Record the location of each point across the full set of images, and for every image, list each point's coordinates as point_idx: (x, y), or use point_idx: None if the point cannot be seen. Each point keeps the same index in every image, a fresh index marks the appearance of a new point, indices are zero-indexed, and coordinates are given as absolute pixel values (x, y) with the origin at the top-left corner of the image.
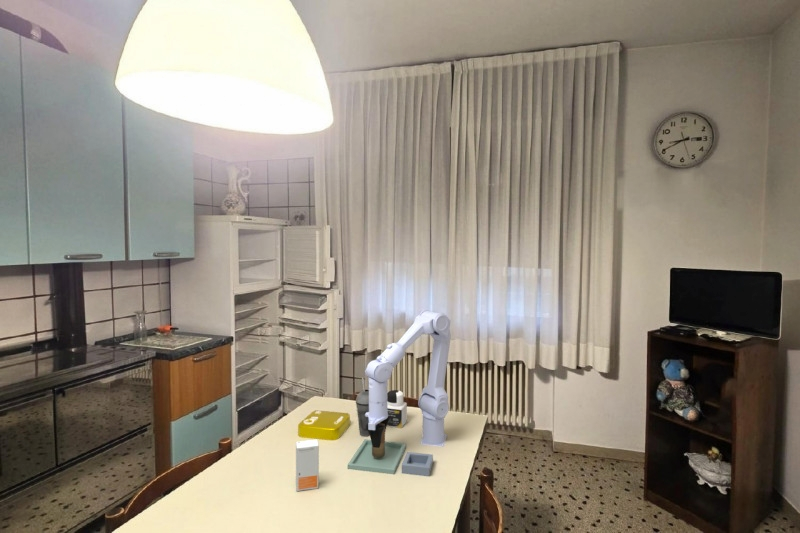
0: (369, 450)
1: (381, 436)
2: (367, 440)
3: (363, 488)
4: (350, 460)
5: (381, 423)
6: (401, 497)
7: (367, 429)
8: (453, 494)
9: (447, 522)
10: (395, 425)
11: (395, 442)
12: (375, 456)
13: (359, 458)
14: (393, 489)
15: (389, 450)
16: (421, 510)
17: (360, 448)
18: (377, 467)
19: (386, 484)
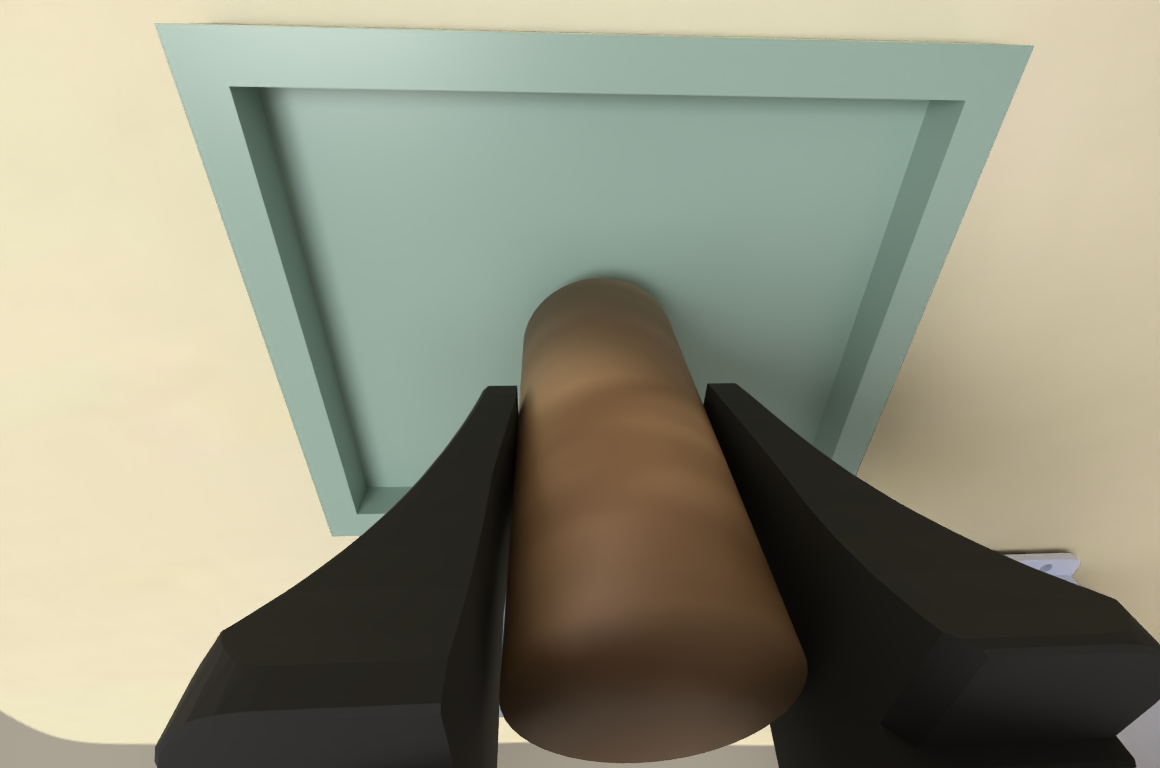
0: (750, 185)
1: (503, 609)
2: (977, 108)
3: (15, 329)
4: (296, 29)
5: (769, 708)
6: (122, 578)
7: (239, 639)
8: None
9: (81, 739)
10: None
11: (865, 445)
12: (525, 338)
13: (517, 113)
14: (176, 526)
15: (754, 393)
16: (82, 666)
17: (709, 73)
18: (301, 415)
19: (207, 475)
